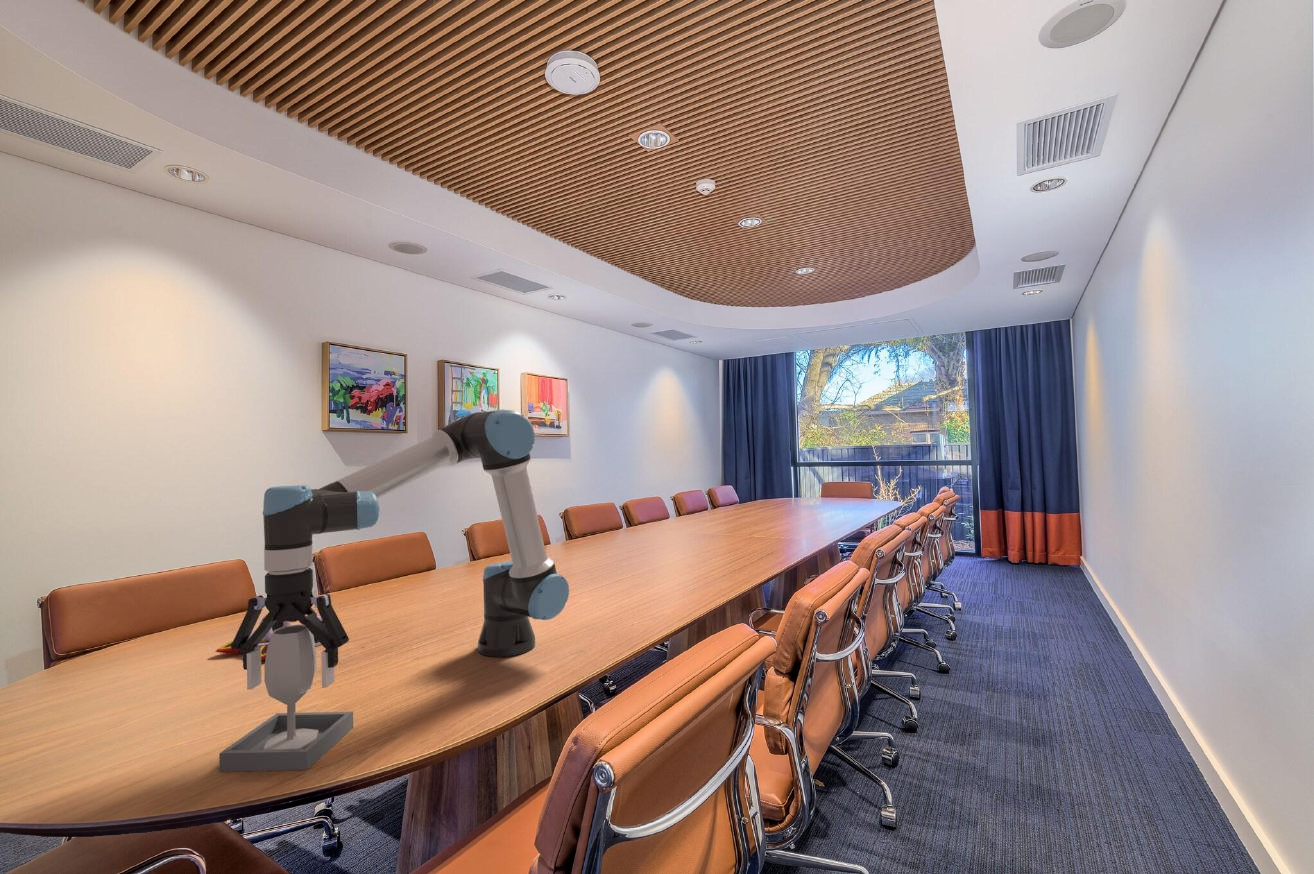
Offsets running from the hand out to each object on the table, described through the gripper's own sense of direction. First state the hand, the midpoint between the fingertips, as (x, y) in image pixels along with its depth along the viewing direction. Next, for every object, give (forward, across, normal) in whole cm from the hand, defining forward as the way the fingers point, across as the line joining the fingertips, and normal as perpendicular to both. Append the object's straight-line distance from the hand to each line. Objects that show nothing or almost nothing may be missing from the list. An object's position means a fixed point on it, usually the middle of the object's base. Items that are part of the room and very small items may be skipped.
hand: (291, 685), depth 108 cm
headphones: (+12, +39, -54) cm, 68 cm away
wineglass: (+11, 0, 0) cm, 11 cm away
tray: (+11, 0, 0) cm, 11 cm away
